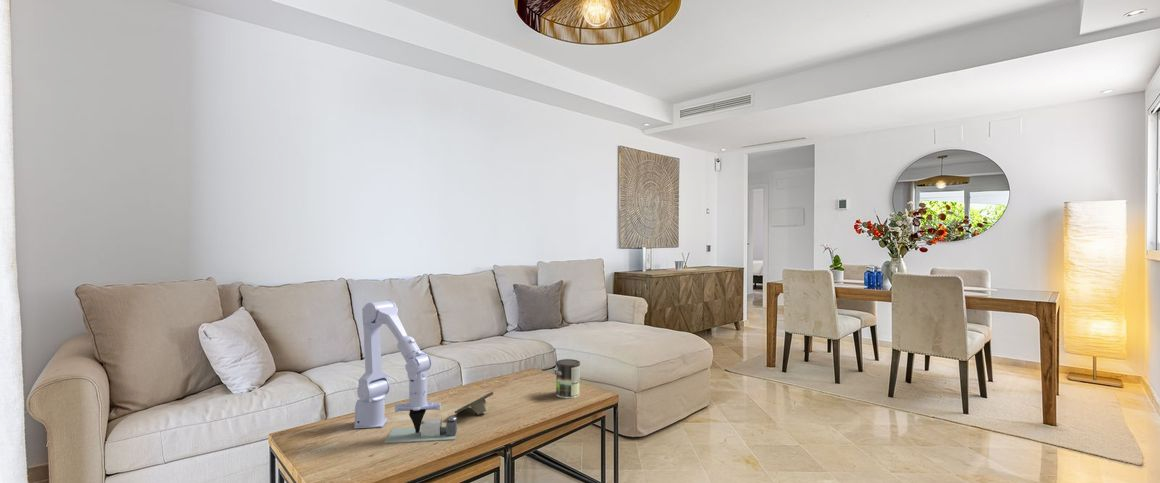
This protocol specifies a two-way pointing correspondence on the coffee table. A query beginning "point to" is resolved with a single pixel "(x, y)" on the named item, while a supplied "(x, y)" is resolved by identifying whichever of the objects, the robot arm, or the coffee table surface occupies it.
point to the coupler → (450, 426)
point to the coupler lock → (431, 427)
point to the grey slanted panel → (477, 405)
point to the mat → (413, 436)
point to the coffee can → (567, 378)
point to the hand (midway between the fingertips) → (417, 431)
